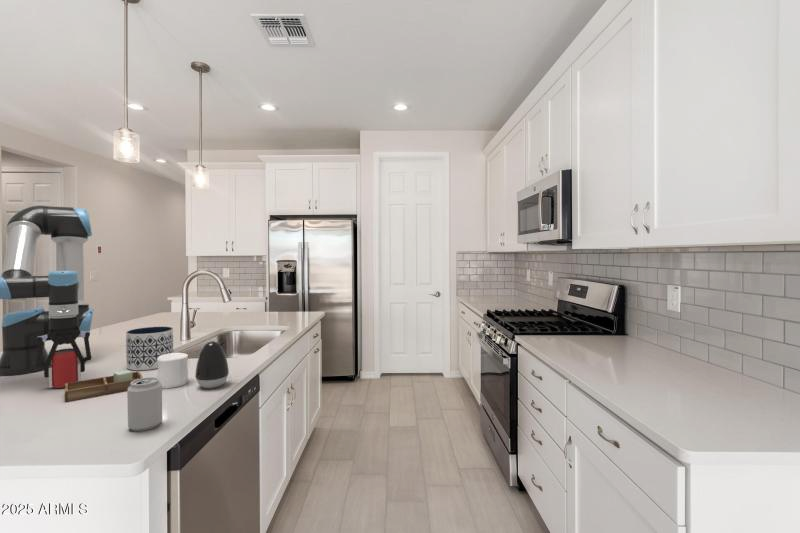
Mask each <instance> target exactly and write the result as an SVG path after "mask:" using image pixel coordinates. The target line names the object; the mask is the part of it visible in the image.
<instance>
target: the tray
mask: <svg viewBox="0 0 800 533" xmlns="http://www.w3.org/2000/svg"><path fill="white" fill-rule="evenodd" d="M132 372H133V371H132ZM141 378H144V377H143V375H142V373H141V372H140V371H134V372H133V380H128V381H122V382H116V383H114V375H107V376H104V377H95V378H90V379H83V380H81V381H77V382H70V383H65V388H64V398H65V399H64V401H65V403H68V402H69V401H70V402H73V401H74V402H75V401H79V400H80V401H81V400H86V399H91V398H95V397H96V398H97V397H100V396H101V397H102V396H106V395H112V394H117V393H118V394H119V393H123V392H127V389H128V388H129V387H130V386H131V384H130V383H131V382H132V381H134V380H137V379H141Z"/></svg>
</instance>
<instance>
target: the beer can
mask: <svg viewBox="0 0 800 533" xmlns="http://www.w3.org/2000/svg"><path fill="white" fill-rule="evenodd" d="M78 362H79V359H78V357H77V355H76V353H75V351H74V349H73V347H72V348H61V349H58V350H57V349H56V351H55V353H54V355H53V358H52V360H51V366H52V388H54V389H65V383H70V382H77V381H78Z"/></svg>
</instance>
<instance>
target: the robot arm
mask: <svg viewBox="0 0 800 533" xmlns="http://www.w3.org/2000/svg"><path fill="white" fill-rule="evenodd" d="M89 216H90V215H89V212H88V210H87V209H85V208H80V207H74V206H73V207H70V206H67V207H66V206H51V205H50V206H49V205H48V206H46V205H32V206H28V207H26V208H24V209H21V210H19V211H18V212H17V213H14V214H13V216H12V217H11V218H10V219H9V221H8V222H7V225H6V229H5V230H6V234H7V235H8V239H7V244H6V250H5V253H4V254H5V256H4V261H3V263H2V264H3V266H2V269H1V270H2V271H1V274H0V300H18V299H34V298H35V299H36V298H37V299H38V298H48V310H45V308H44V307H35V308H27V309H20V310H17V311H12V312H8V313H5V314H4V315H3V316H2V319H1V320H2V323H1V329H2V330H1V331H2V332H1V333H2V334H1V336H2V354H1V356H0V376H17V375H18V376H19V375H24V374H30V373H36V372H40V371H43V375H44V376H43V377H44V378H45V379H46V378H48V388H53V386H52V358H53V355H54V353H55V351H56V350H57V349H58V347H59V346H61V345H71V347H72V348H73V349H74V351H75V353H76V355H77V358H78V381H82V380H81V378H82V374H81V373H84V372H85V370H86V362H88V361H91V360H92V355H91V348H90V340H89V339H90V335H91V328H92V327H91V326H92V320H93V314H94V313H93V312H94V309H93V308H92V307H90V304H89V303H88V302H87V301H85V280H84V278H85V277H84V276H85V274H84V244H85V243H86V242H87V241H88V240H89V238H88V237H92V236H93V234H92V227H91V222H90V217H89ZM41 235H46V236H50V240H51V241H53V243H55V257H56V258H55V263H56V264H55V265H56V266H55V267H56V268H55V269H56V270H52V271H49V273H48V275H33V272H34V263H35V256H36V248H37V247H36V246H37V240H38V239H39V238H40V237H41ZM78 338H82V339H83V343H84V348H85V355H86V356H83V353H82V352H81V350H80V348H79V346H78V344H77V341H76V339H78ZM47 341H51V342H53V343H52V346H51V348H50V351H49V353H48V351H47V349H46V347H45V345H46V344H45V342H47Z"/></svg>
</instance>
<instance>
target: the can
mask: <svg viewBox="0 0 800 533" xmlns="http://www.w3.org/2000/svg"><path fill="white" fill-rule="evenodd" d="M130 384H131V386H130V387H129V388H128V389H127V391H126V392H127V394H126V395H127V427H128V429H130V430H132V431H134V432H141V431H148V430H151V429H154V428H156V427H157V426H159V424H160V423H162V421H163V388H162V383H161V382H159V378H157V376H156V377H155V376H153V377H152V376H150V377H148V376H147V377H143V378H141V379H137V380H134V381H132V382H131V383H130Z"/></svg>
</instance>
